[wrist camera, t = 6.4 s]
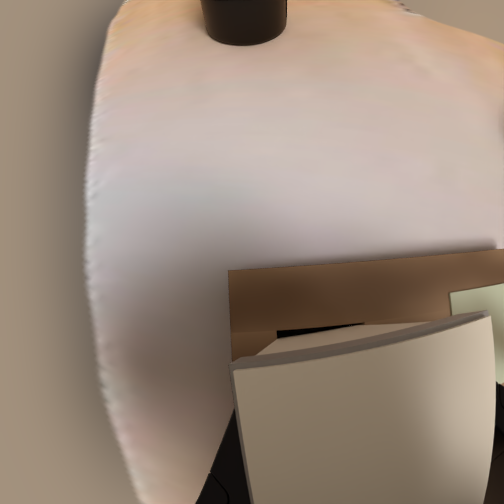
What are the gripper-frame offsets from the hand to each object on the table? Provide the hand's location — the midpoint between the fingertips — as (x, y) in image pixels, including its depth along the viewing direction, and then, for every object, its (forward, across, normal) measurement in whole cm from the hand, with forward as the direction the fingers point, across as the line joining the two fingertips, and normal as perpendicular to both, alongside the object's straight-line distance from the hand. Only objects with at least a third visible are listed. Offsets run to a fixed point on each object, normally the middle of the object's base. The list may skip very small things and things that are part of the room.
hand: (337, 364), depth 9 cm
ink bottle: (+31, -2, -16) cm, 35 cm away
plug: (+6, -1, +7) cm, 9 cm away
